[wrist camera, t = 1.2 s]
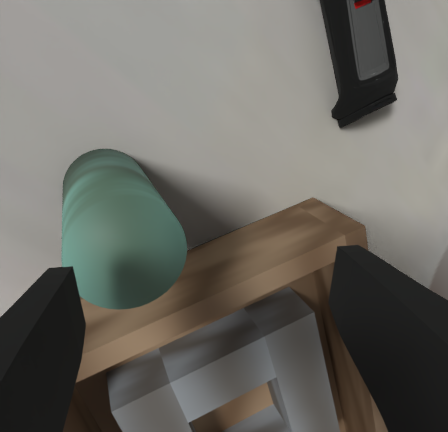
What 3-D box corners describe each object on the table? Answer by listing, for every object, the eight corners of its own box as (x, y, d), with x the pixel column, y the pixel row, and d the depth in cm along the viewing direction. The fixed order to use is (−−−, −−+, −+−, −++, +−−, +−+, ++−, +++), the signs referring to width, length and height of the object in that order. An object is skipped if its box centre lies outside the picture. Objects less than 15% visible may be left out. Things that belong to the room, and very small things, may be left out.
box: (154, 548, 30) (168, 629, 26) (11, 325, 21) (-2, 393, 17) (357, 431, 34) (399, 484, 30) (312, 197, 25) (365, 226, 21)
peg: (83, 238, 21) (92, 328, 14) (48, 165, 19) (38, 226, 12) (157, 209, 22) (201, 279, 15) (129, 137, 20) (164, 178, 13)
